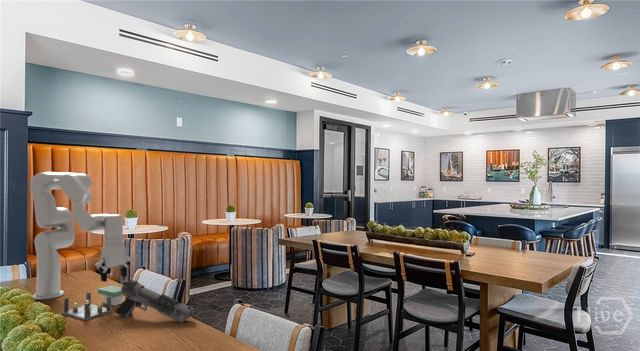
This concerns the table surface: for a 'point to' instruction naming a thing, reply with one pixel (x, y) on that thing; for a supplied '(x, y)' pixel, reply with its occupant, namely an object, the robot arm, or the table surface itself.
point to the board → (110, 291)
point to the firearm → (151, 302)
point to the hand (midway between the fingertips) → (114, 278)
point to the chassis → (87, 309)
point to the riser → (113, 300)
